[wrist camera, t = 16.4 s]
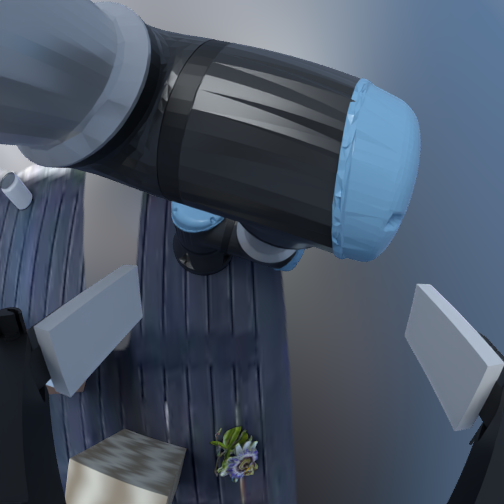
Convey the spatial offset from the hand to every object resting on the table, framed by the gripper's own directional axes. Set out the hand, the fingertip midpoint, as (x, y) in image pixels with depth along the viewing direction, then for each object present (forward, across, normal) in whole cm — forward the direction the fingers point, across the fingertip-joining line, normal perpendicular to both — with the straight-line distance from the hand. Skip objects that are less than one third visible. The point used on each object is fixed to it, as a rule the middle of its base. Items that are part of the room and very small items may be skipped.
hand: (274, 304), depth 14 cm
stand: (+26, -26, -55) cm, 66 cm away
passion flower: (+31, -8, -54) cm, 63 cm away
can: (+56, -79, -2) cm, 97 cm away
